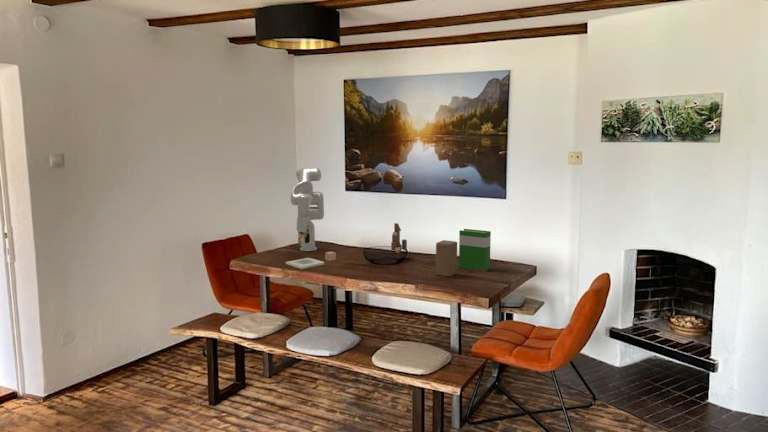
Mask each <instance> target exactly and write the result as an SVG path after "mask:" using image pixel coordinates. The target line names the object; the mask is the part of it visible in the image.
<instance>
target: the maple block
mask: <svg viewBox="0 0 768 432" xmlns="http://www.w3.org/2000/svg"><path fill="white" fill-rule="evenodd" d="M305 237H306V236H305V233H300V234H299V233H297V244H299V245H300V244H308V243H305ZM309 243H311V234H310V242H309Z"/></svg>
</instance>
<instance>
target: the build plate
mask: <svg viewBox="0 0 768 432" xmlns="http://www.w3.org/2000/svg"><path fill="white" fill-rule="evenodd" d="M285 265H288V266H291V267H293V268H297V269H300V270H303V269H308V268H314V267H318V266H324V265H325V261H323V260H319V259H315V258H310V257H304V258H299V259H295V260H289V261H285Z"/></svg>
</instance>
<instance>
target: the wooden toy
mask: <svg viewBox="0 0 768 432" xmlns="http://www.w3.org/2000/svg"><path fill="white" fill-rule="evenodd" d="M393 229H394V230H393V232H392V235H391V246H390V247H391V248H390V249H391V250H395V252H396V253H398V254H399V252H400V251H401V249H404V250H406V251H407V252H408V249H407V248H408V247H407V243H408V241H407V239H400V238H401V237H400V235H401V231H402V229H401V227H400V224H399V223H398V222H397V223H396V222H395V223H394V228H393ZM407 257H408V255H407V256H406V259H407Z"/></svg>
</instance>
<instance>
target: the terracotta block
mask: <svg viewBox="0 0 768 432" xmlns="http://www.w3.org/2000/svg"><path fill="white" fill-rule="evenodd" d="M324 254H325V256H324V257H325V261H328V262H329V261H330V262H333V261H336V260H337V253H336V252H334V251H326V252H325V253H324Z"/></svg>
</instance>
